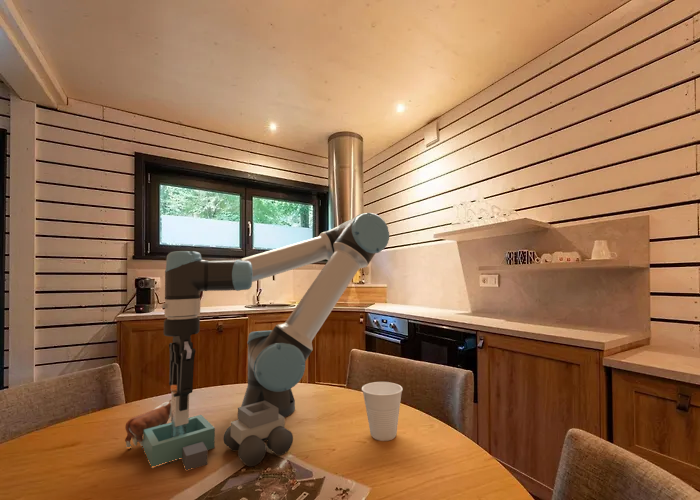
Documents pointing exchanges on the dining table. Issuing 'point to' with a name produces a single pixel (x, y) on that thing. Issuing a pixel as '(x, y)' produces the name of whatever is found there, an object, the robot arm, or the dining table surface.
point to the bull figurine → (147, 422)
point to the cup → (382, 408)
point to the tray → (176, 440)
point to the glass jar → (178, 429)
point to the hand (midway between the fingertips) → (179, 421)
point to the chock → (194, 455)
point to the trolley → (258, 432)
